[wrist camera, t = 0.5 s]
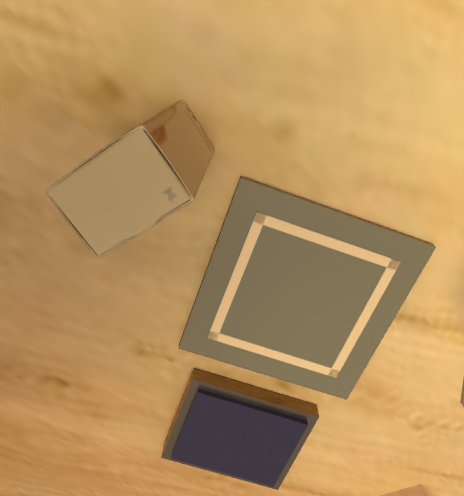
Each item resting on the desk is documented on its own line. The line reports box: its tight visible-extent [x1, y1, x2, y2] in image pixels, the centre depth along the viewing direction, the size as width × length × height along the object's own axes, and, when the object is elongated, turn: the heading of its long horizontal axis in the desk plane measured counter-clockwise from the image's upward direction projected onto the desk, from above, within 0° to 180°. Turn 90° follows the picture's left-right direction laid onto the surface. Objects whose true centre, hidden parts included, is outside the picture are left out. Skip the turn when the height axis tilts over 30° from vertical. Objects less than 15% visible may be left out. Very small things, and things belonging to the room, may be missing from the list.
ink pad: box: [161, 368, 319, 490], centre depth 41 cm, size 12×10×2 cm
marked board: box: [179, 176, 436, 400], centre depth 36 cm, size 16×16×1 cm
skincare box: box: [46, 101, 214, 258], centre depth 26 cm, size 6×4×12 cm
